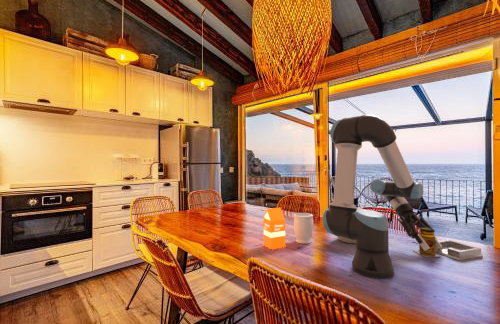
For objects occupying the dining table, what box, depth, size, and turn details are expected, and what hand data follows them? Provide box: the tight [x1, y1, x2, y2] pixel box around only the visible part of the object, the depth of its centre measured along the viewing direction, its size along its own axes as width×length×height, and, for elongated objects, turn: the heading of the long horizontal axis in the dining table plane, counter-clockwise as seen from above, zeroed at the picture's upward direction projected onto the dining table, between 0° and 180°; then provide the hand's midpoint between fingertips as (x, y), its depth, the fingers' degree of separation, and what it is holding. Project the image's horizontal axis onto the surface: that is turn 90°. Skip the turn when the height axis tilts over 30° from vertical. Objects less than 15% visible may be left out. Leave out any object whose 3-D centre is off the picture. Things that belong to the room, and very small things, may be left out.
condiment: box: [412, 227, 440, 258], centre depth 116 cm, size 7×8×12 cm
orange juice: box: [263, 207, 286, 250], centre depth 130 cm, size 8×9×20 cm
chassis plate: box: [435, 239, 484, 261], centre depth 116 cm, size 15×14×4 cm
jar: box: [293, 212, 314, 245], centre depth 137 cm, size 11×10×15 cm
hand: (433, 248), depth 112 cm, fingers open, 7 cm apart
